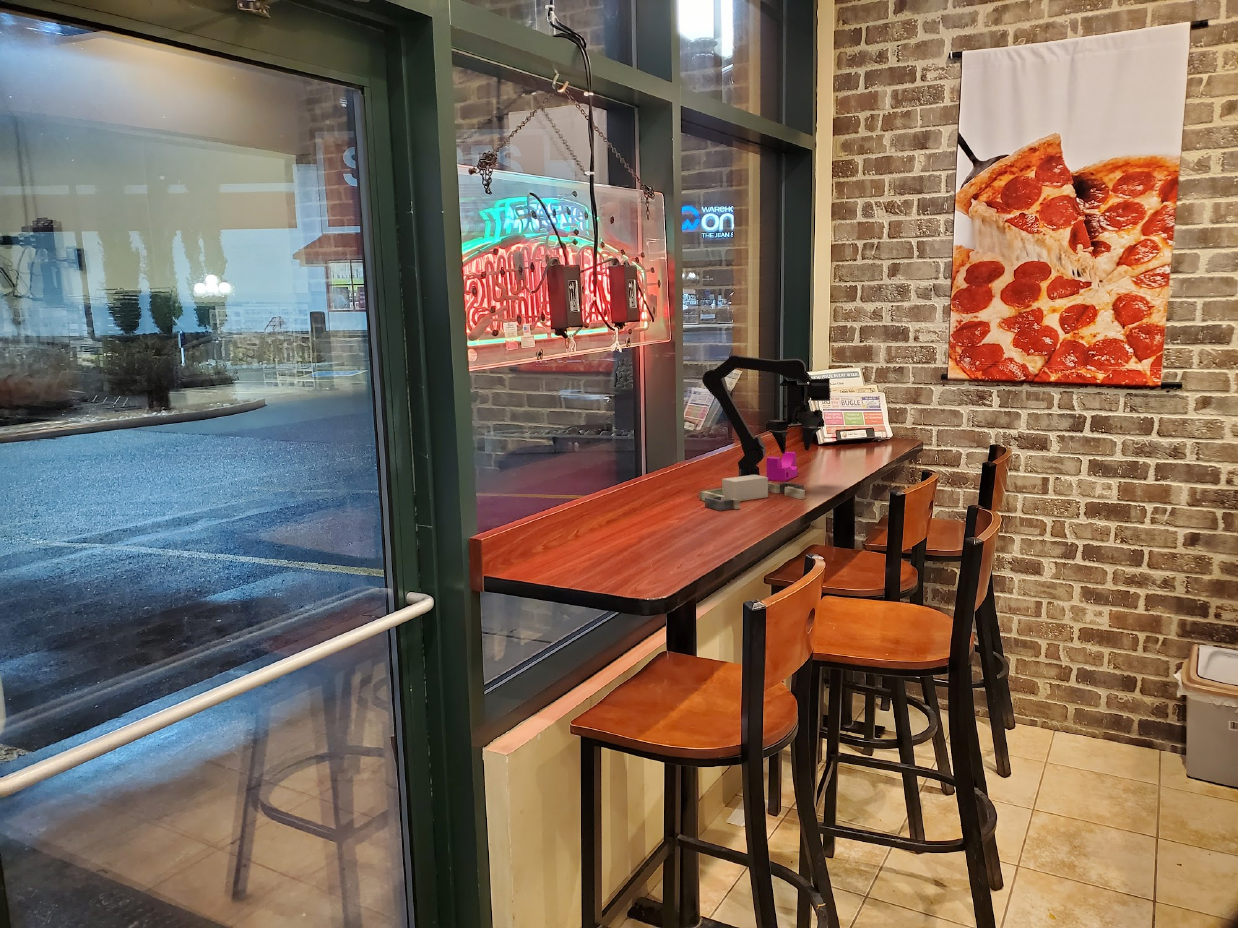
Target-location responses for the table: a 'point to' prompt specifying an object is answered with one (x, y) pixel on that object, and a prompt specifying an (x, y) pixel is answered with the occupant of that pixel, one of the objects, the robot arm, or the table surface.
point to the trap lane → (718, 501)
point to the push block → (745, 487)
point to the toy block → (782, 467)
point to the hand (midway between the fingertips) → (795, 451)
